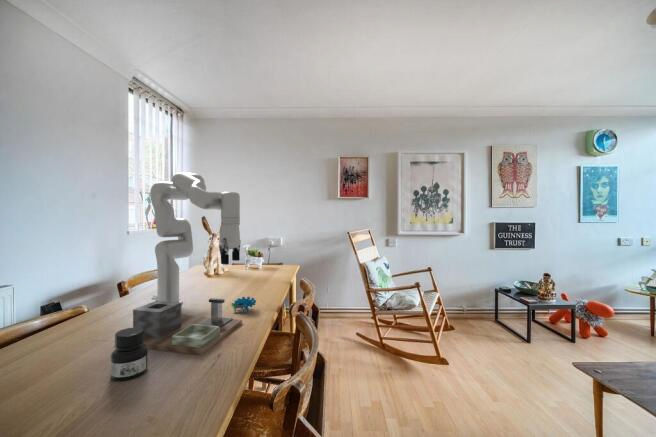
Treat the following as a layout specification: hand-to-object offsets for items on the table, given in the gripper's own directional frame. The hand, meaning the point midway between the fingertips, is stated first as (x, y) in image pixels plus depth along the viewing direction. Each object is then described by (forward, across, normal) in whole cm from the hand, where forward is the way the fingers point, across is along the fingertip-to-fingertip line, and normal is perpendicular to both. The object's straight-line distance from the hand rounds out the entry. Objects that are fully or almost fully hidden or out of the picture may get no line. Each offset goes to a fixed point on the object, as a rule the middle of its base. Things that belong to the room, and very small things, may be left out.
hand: (230, 262), depth 127 cm
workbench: (+25, +15, -11) cm, 31 cm away
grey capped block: (+23, +6, -3) cm, 24 cm away
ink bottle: (+25, +43, -9) cm, 51 cm away
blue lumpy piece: (+25, -14, 0) cm, 29 cm away
